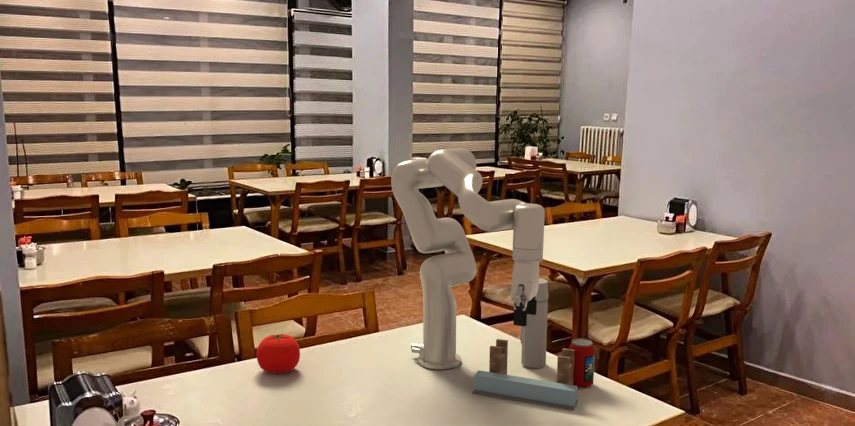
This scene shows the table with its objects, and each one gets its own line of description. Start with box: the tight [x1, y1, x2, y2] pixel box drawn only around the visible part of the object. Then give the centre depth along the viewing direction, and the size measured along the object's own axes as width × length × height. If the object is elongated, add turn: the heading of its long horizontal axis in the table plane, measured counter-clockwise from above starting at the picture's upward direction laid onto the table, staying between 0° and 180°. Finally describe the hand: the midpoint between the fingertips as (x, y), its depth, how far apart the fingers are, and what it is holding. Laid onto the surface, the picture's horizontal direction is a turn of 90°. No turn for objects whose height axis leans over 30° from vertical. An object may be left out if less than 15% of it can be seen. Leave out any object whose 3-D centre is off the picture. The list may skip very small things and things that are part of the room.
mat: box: [472, 389, 578, 412], centre depth 176 cm, size 26×6×1 cm, turn 67°
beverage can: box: [568, 337, 596, 389], centre depth 184 cm, size 7×7×12 cm
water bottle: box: [519, 277, 549, 370], centre depth 197 cm, size 9×8×25 cm
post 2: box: [556, 347, 574, 385], centre depth 178 cm, size 4×7×11 cm, turn 157°
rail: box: [473, 369, 578, 407], centre depth 176 cm, size 26×4×4 cm, turn 67°
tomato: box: [255, 332, 301, 374], centre depth 192 cm, size 12×12×10 cm
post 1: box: [488, 338, 509, 375], centre depth 185 cm, size 4×7×11 cm, turn 157°
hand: (525, 319), depth 174 cm, fingers open, 9 cm apart
